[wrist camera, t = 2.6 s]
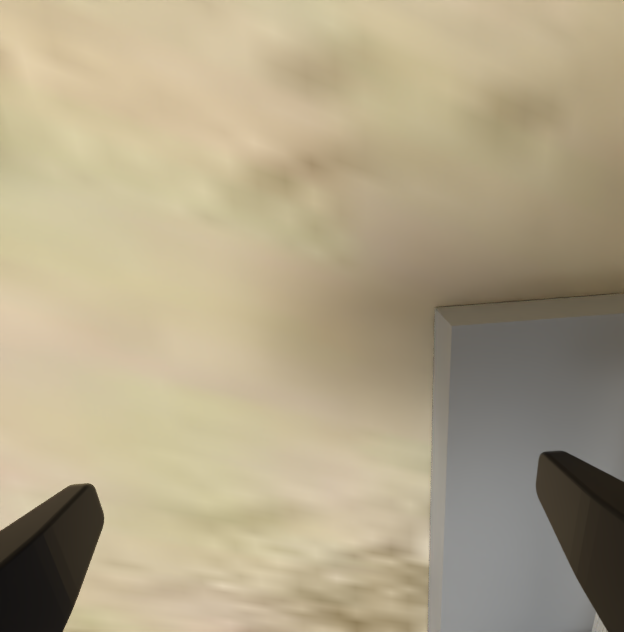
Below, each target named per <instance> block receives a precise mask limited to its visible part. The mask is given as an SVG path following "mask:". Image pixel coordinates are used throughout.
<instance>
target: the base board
mask: <svg viewBox="0 0 624 632" xmlns="http://www.w3.org/2000/svg"><path fill="white" fill-rule="evenodd" d="M559 450H560V451H565V452H567V453H569V454H571V455H573V456H575V457H577V458H579V459H581V460H583V461H585V462H587V463H589V464H591V465H592V466H594V467H596V468H598V469H600V470H602V471H604V472H606V473H608V474H610V475H612V476H614V477H616V478H617V479H619V480H621V481H623V482H624V293H620V294H607V295H594V296H581V297H568V298H555V299H541V300H528V301H515V302H502V303H489V304H476V305H462V306H449V307H436V308H435V323H434V369H433V415H432V461H431V507H430V554H429V600H428V632H592V628H593V623H594V619H595V614H596V611H595V609H594V608H593V606H592V604H591V603H590V601H589V599H588V597H587V596H586V594H585V592H584V591H583V589H582V587H581V585H580V584H579V582H578V580H577V578H576V576H575V574H574V572H573V570H572V568H571V566H570V564H569V562H568V560H567V558H566V556H565V554H564V552H563V550H562V547H561V545H560V543H559V541H558V539H557V537H556V535H555V533H554V530H553V528H552V526H551V524H550V522H549V520H548V518H547V516H546V513H545V511H544V509H543V507H542V505H541V503H540V501H539V499H538V496H537V493H536V476H537V468H538V460H539V456H540V454H541V453H542V452H545V451H559Z"/></svg>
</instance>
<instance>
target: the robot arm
mask: <svg viewBox="0 0 624 632" xmlns="http://www.w3.org/2000/svg"><path fill="white" fill-rule="evenodd" d="M536 493H537V496H538V499H539V501H540V503H541V505H542V507H543V509H544V511H545V513H546V516H547V518H548V520H549V522H550V524H551V526H552V528H553V530H554V533H555V535H556V537H557V539H558V541H559V543H560V545H561V547H562V550H563V552H564V554H565V556H566V558H567V560H568V562H569V564H570V566H571V568H572V570H573V572H574V574H575V576H576V578H577V580H578V582H579V584H580V585H581V587H582V589H583V591H584V592H585V594H586V596H587V597H588V599H589V601H590V603H591V604H592V606H593V608H594V609H595V611H596V613H597V614H598V616H599V618H600V620H601V621H602V623H603V625H604V626H605V628H606V630H607V631H608V632H624V482H623V481H621V480H619V479H617V478H616V477H614V476H612V475H610V474H608V473H606V472H604V471H602V470H600V469H598V468H596V467H594V466H592V465H591V464H589V463H587V462H585V461H583V460H581V459H579V458H577V457H575V456H573V455H571V454H569V453H567V452H565V451H560V450H559V451H545V452H542V453H541V454H540V456H539V460H538V468H537V476H536ZM103 524H104V513H103V510H102V507H101V504H100V501H99V498H98V495H97V492H96V489H95V487H94V486H93V485H92V484H88V483H87V484H74V485H70V486H68V487H66V488H65V489H63V490H62V491H60V492H59V493H57V494H56V495H54V496H53V497H51V498H50V499H48V500H47V501H45V502H44V503H42V504H41V505H39V506H38V507H36V508H35V509H33V510H32V511H30V512H28V513H27V514H25V515H24V516H22V517H21V518H19V519H18V520H16V521H15V522H13V523H12V524H10V525H9V526H7V527H6V528H4V529H3V530H1V531H0V632H63V630H64V628H65V625H66V623H67V621H68V619H69V616H70V614H71V612H72V610H73V607H74V605H75V602H76V600H77V597H78V595H79V592H80V589H81V586H82V584H83V581H84V578H85V575H86V572H87V570H88V567H89V564H90V561H91V559H92V556H93V553H94V550H95V547H96V545H97V542H98V539H99V536H100V534H101V531H102V528H103Z"/></svg>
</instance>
